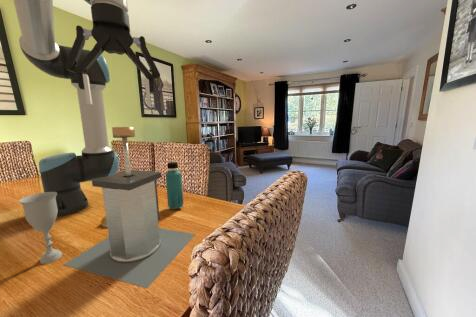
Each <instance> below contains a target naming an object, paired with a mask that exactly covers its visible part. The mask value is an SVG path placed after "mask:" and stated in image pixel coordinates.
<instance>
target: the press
mask: <svg viewBox="0 0 476 317" xmlns="http://www.w3.org/2000/svg"><path fill="white" fill-rule="evenodd" d="M161 178H162V171H152V170H138V169H137V170H136V169H131V177H129V178H128V177H126V170H123V171H118V172H117V173H116V174H112V175H109V176H105V177H102V178H99V179H95V180H92V181H91V184H92V187H95V188H97V187H98V188H101V190H102V199H103V206H104V212H105V216H106V220H107V227H106V228H107V232H108V234H107V235H108V237H109V241H110V248H111V251H110V255H111V259H112V260H113V261H115V262H117V263H133V262H137V261H141V260H143V259H145V258H148V257H149V256H151V255H152V254H154V253H155V252H156V251H157V250H158V249H159V247H160V245H161V238H160V236H159V228H160V227H159V220H160V219H161V218H160V211H159V210H160V208H159V207H160V206H159V197H158V185H157V184H158V183H157V180H158V179H161Z"/></svg>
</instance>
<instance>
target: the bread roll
mask: <svg viewBox="0 0 476 317" xmlns="http://www.w3.org/2000/svg"><path fill="white" fill-rule="evenodd" d="M100 224H101V226H102V227H105V228H108V227H107V220H106V215H105V216H104V217H103V218H102V219H101V221H100Z"/></svg>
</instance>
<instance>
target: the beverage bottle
mask: <svg viewBox="0 0 476 317" xmlns="http://www.w3.org/2000/svg"><path fill="white" fill-rule="evenodd" d="M178 168H179V164H178V162H177V161H171V162H170V161H169V162H168V163H167V169H170V170H167V171H166V172H165V174H164V175H165V184H166V199H167V207H168V208H169V209H180V208H182V207H183V206H184V199H185V198H184V193H183V191H184V190H183V178H182V172H181V171H180V170H179V169H178Z"/></svg>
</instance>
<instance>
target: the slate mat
mask: <svg viewBox="0 0 476 317" xmlns="http://www.w3.org/2000/svg"><path fill="white" fill-rule="evenodd" d="M196 235H197V234H195V233H191V232H184V231H180V230H174V229H167V228H162V227H161V228H160V227H159V236H160V238H161V245H160V247H159V249H158V250H157V251H156V252H155V253H154V254H152V255H151V256H149V257H148V258H145V259H143V260H141V261H137V262H133V263H117V262H115V261H113V260H112V259H111V255H110V251H111V248H110V241H109V236H107V237H105V238H104V239H102V240H101V241H100V242H98V243H96V244H94V245H93V246H91V247H89V248H88V249H86V250H85V251H83V252H82V253H80V254H78V255H77V256H75V257H73V258H72V259H70V260H68V261H67V262H65V263H63V266H66V267H69V268H73V269H77V270H79V271H80V270H81V271H84V272H87V273H91V274H94V275H98V276H103V277H106V278H109V279H112V280H116V281H120V282H124V283H128V284H131V285H134V286H138V287H141V288H146V289H148V288H149V287H150V286H151V285H152V283H154V281H155V280H156V279H157V278H158V277H159V276H160V275H161V274H162V272H163V271H165V269H166V268H167V267H169V265H170V264H171V263H172V262H173V260H174V259H175V258H176V257H177V256H178V255H179V254H180V252H182V250H183V249H184V248H185V247H186V246H187V245H188V244H189V243H190V242H191V241H192V239H193V238H195V236H196Z"/></svg>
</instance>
